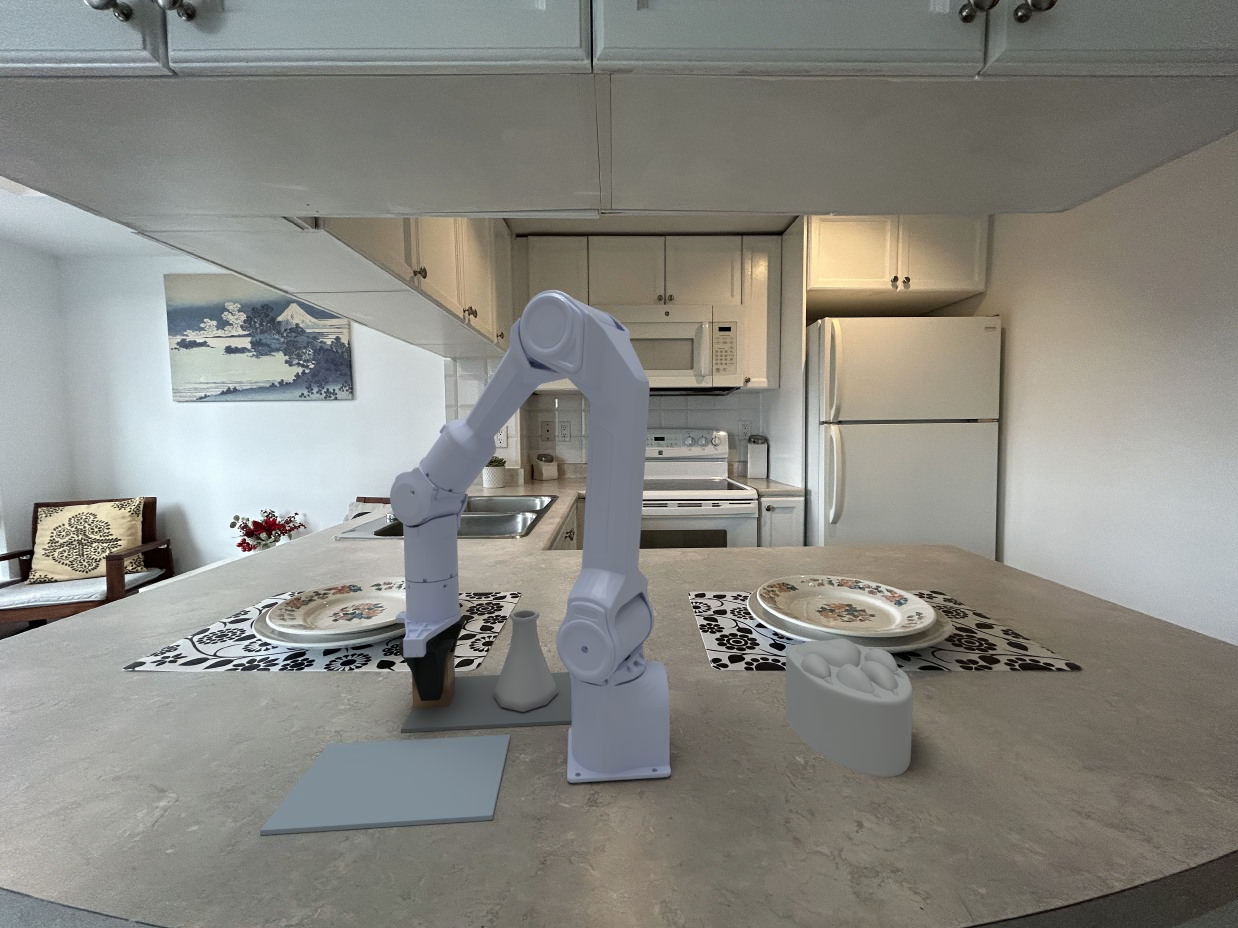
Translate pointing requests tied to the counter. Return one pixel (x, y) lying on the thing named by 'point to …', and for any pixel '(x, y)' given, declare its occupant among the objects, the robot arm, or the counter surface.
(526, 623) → the flask
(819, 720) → the lumpy-topped squat cylinder
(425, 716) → the charcoal mat
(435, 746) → the slate mat
